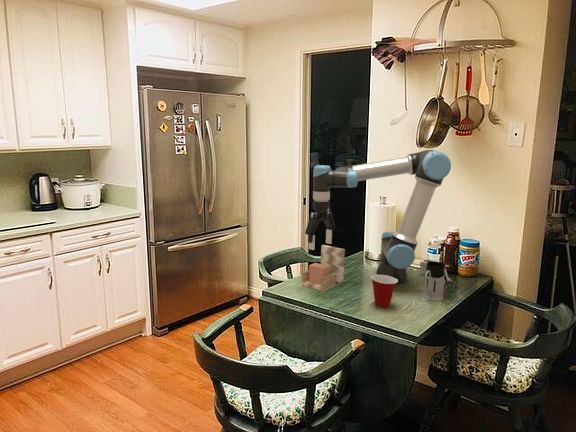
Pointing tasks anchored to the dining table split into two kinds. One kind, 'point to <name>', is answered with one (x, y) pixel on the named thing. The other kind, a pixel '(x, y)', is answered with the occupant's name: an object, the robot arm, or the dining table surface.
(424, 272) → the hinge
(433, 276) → the glass holder
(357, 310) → the dining table surface
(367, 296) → the dining table surface
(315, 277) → the rail end
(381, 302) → the plastic cup
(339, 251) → the wooden block stack
